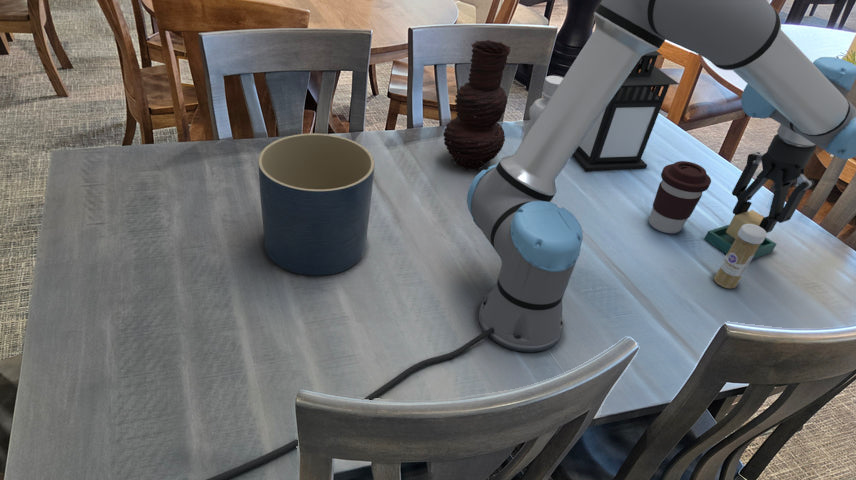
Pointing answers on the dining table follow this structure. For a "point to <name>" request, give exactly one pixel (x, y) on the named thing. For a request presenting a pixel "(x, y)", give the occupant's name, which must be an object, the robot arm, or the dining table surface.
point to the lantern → (626, 121)
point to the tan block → (743, 222)
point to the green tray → (726, 241)
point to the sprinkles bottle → (740, 255)
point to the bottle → (542, 100)
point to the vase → (479, 109)
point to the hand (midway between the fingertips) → (744, 234)
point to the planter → (315, 202)
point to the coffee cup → (678, 195)
